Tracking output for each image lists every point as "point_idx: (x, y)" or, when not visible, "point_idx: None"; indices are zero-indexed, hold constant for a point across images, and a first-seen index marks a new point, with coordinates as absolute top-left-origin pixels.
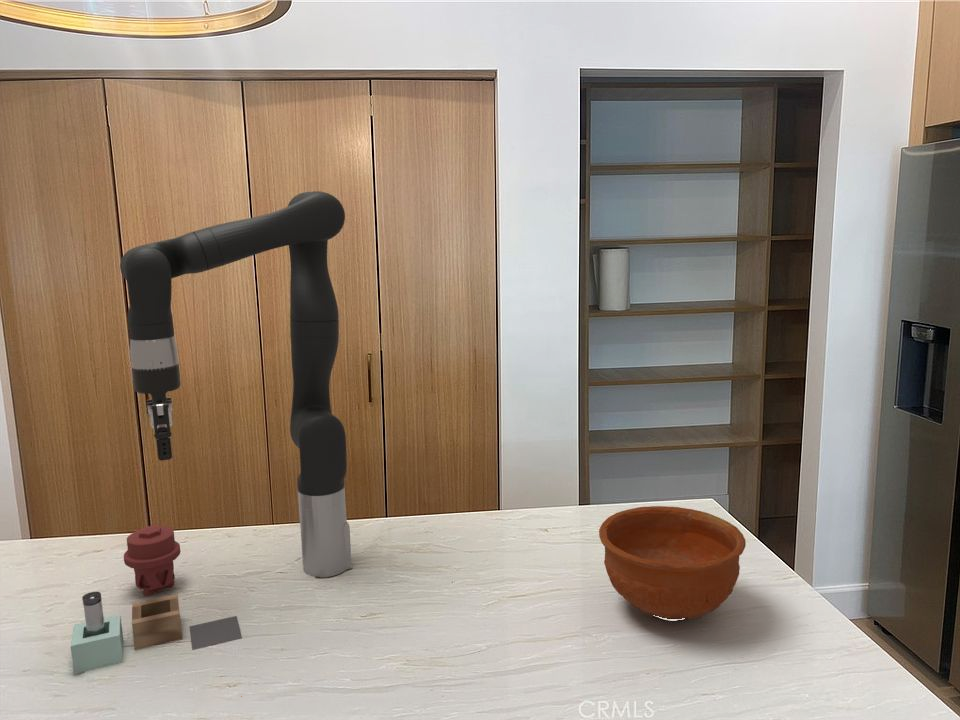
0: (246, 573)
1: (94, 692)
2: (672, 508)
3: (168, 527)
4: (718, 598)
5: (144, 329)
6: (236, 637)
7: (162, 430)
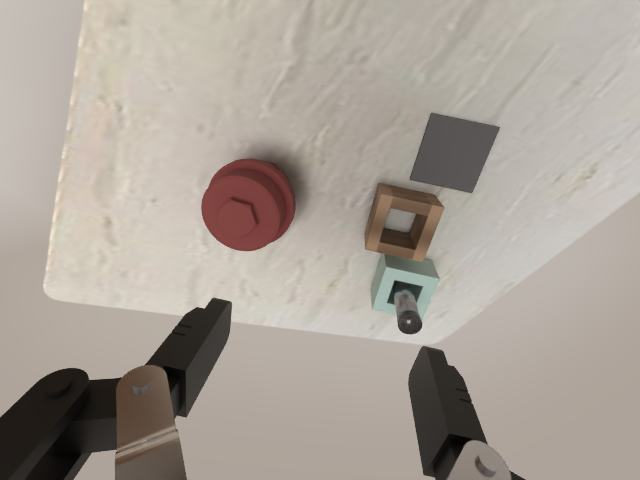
0: (296, 46)
1: (465, 291)
2: None
3: (222, 180)
4: None
5: None
6: (491, 134)
7: (195, 377)
